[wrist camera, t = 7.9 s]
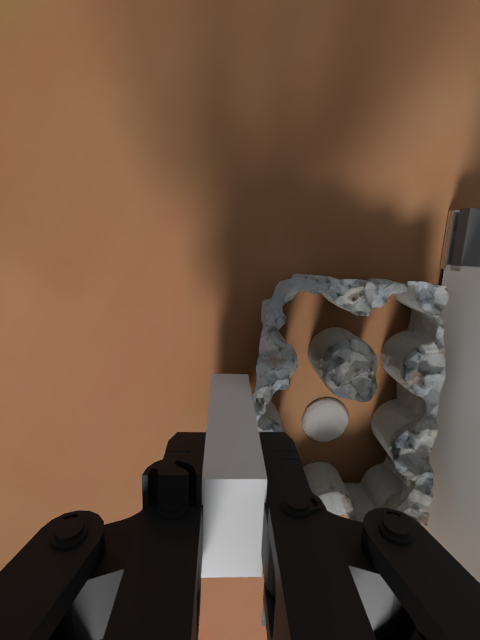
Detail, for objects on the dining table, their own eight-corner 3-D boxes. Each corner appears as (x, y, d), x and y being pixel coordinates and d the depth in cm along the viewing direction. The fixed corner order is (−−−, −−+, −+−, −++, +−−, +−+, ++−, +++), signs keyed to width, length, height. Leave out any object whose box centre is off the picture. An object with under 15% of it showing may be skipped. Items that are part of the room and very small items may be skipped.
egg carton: (379, 487, 18) (425, 559, 14) (233, 477, 17) (236, 548, 13) (428, 279, 15) (500, 292, 11) (261, 259, 15) (275, 266, 11)
